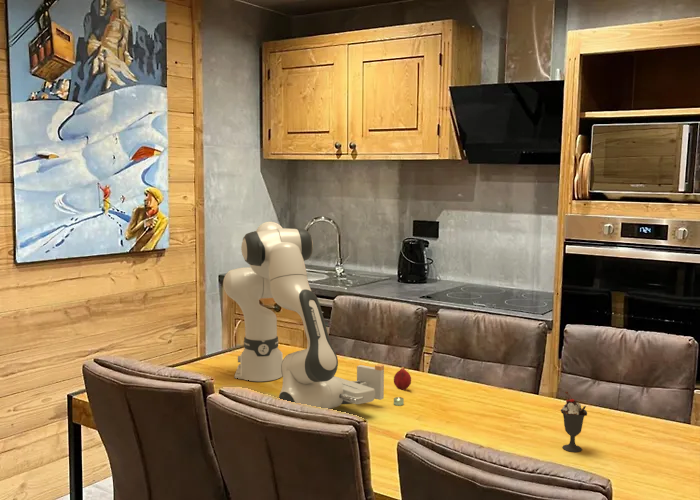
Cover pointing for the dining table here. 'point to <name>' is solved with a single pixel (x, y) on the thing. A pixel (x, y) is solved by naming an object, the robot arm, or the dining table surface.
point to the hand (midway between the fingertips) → (363, 384)
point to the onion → (402, 379)
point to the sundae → (573, 422)
